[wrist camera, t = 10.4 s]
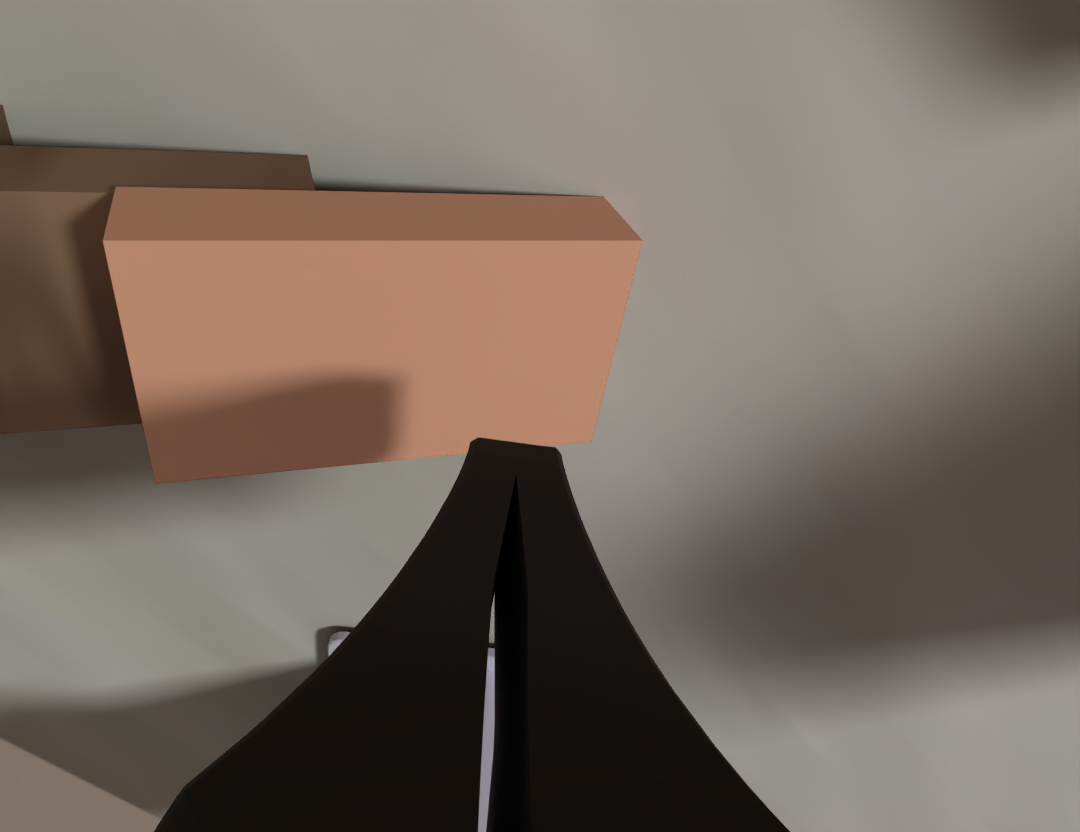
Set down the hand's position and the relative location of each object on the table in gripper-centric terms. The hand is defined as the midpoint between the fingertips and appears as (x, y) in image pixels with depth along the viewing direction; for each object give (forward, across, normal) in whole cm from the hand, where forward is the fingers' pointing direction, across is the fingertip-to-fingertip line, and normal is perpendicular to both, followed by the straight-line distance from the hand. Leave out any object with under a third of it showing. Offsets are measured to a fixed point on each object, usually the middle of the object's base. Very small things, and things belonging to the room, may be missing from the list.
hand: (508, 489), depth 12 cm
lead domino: (+6, -2, 0) cm, 6 cm away
